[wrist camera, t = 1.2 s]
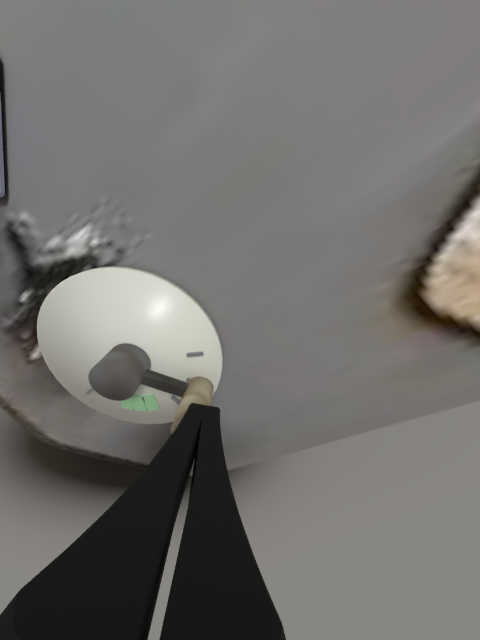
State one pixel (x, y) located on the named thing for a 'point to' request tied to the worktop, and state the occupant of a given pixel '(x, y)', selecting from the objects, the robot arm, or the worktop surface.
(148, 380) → the crank handle
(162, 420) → the dial plate
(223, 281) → the worktop surface
